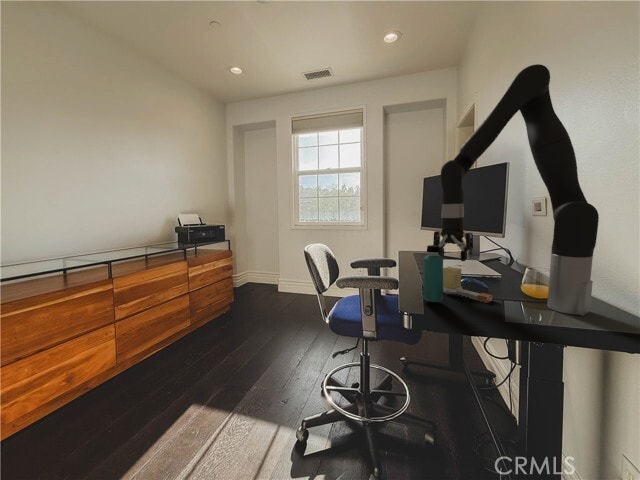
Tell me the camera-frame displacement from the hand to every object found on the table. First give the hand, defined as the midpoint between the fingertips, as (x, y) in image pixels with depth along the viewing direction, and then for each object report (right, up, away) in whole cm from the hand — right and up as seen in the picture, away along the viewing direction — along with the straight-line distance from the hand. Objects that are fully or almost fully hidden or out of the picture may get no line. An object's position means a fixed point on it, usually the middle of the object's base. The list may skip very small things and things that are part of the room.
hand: (451, 259), depth 102 cm
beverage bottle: (-11, -15, -9) cm, 21 cm away
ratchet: (+3, -13, -3) cm, 14 cm away
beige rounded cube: (0, -11, +1) cm, 11 cm away
